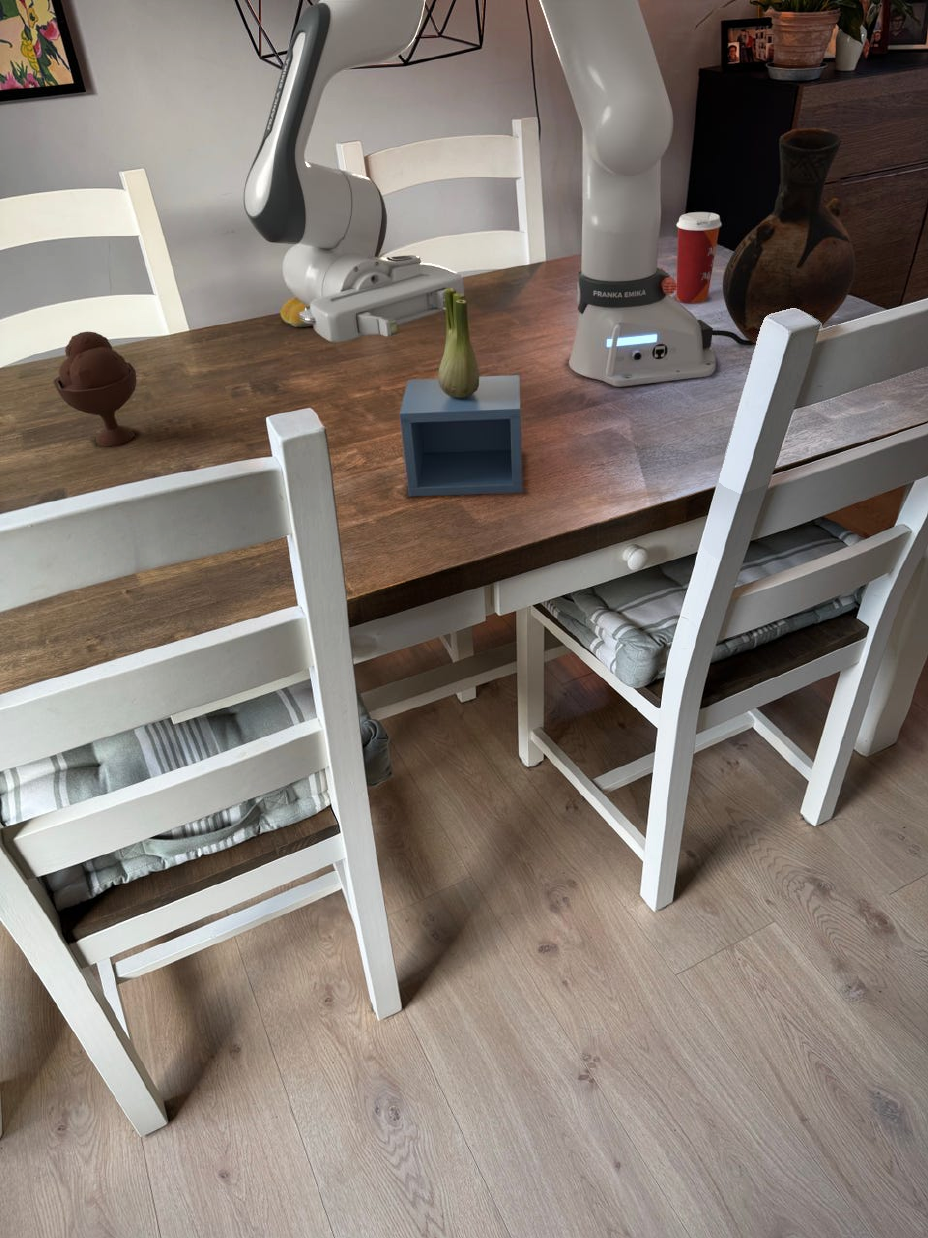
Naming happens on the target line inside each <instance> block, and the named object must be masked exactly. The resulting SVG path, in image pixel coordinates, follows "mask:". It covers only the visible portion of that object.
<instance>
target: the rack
mask: <svg viewBox="0 0 928 1238" xmlns="http://www.w3.org/2000/svg"><path fill="white" fill-rule="evenodd" d="M405 385H406V386H405V390H404V394H403V397H402V402H401V406H400V411H399V421H400V422H399V423H400V429H401V437H402V447H403V448H402V449H403V456H404V464H405V465H404V466H405V472H406V473H405V474H406V481H407V482H406V483H407V489H408V490H407V491H408V497H435V496H462V495H463V496H465V495H466V496H467V495H469V496H470V495H497V494H498V495H500V494H523V462H522V461H523V459H522V457H523V455H522V417H521V416H522V409H521V407H522V406H521V375H520V374H512V375H487V376H479V387H478V389H477V391H476V392H474V393H473V394H471V395H470V396H468V397H465V398H455V397H450V396H449V395H447V394H446V393H445V392H444V391H443V390H442V389H441V387H440V385H439V382H438V378H420V379H419V378H417V379H407V382H406V384H405Z"/></svg>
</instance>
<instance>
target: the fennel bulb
mask: <svg viewBox="0 0 928 1238" xmlns="http://www.w3.org/2000/svg"><path fill="white" fill-rule="evenodd" d="M445 309H446V315H445V327H446V334H445V335H446V336H445V337H446V338H445V342H444V343H445V344H444V350H443V355H442V358H441V361H440V363H439V367H438V371H437V373H438V376H437V379H438V382H439V385H440V387H441V389H442V390H443V391H444V392H445V393H446V394H447V395H449V396H450V397H455V398H465V397H468V396H470V395H471V394H473V393H474V392H476V391H477V389H478V387H479V377H480V368H479V365H478V360H477V357H476V353H475V349H474V347H473V344H472V343H471V340H470V333H469V323H468V322H469V321H468V302H467V300H466V296H465V294H464V295H463V294H456V290H455V289H453V288H447V289H445Z"/></svg>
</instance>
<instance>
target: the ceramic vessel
mask: <svg viewBox="0 0 928 1238" xmlns="http://www.w3.org/2000/svg"><path fill="white" fill-rule="evenodd" d="M778 143H779V162H780V184H779V187H778V194H777V197H776V200H775V204H774V209H773V211H772V213H770V214H769V215H768V216H767V217H766V218H765V219H763V220H762V221H761V222H760V223H759V224H758V225H756V226H755V227H754V228H753V229H752V230H751V231H750V232H749V233H748V234H747V235H746V236H745V237H744V238H743V240H742V241H741V242H740V243H739V244H738V245H737V247H736V248H735V249H734V251H733V253H732V254H731V256H730V258H729V260H728V262H727V264H726V267H725V269H724V272H723V277H722V295H723V300H724V304H725V308H726V310H727V312H728V315H729V316H730V318H731V320H732V322H733V324H734V325H735V326H736V327H737V329H738V330H739V331H740V333H741V334H742V335H743V337H745V338H746V340H750V341H751V342H753V343H755V344H756V341H757V337H758V334H759V331H760V327H761V325H762V323H763V320H764V318H765V317H766V316H767V315H769V314H771V313H775V312H779V311H782V310H786V309H790V308H797V309H800V310H802V311H804V312H806V313H808V314H810V315H812V316H813V317H814V318H816V319H818V320H819V321H820V322H821V323H822V327H823V326H824V325H825V324H826V323H827V322H828V321H829V320H830V319H831V318H832V317H833V316H834V315H835V314H836V312H837V311H838V310H839V309H840V308H841V306H842V305H843V304H844V303H845V300H846V298H847V297H848V295H849V293H850V291H851V289H852V285H853V283H854V279H855V275H856V256H855V250H854V247H853V243H852V240H851V238H850V234H849V233H848V231H847V229H846V228H845V227H844V225H843V222H842V219H841V213H842V201H841V200H840V199H839V198H836V197H835V198H832V200H830V201H829V202H828V203H827V204H826V205H825V206H824V207H823V206H822V200H823V193H824V190H825V185H826V181H827V177H828V175H829V172H830V170H831V167H832V165H833V162H834V160H835V158H836V156H837V154H838V152H839V149H840V146H841V144H842V139H841V137H840V136H839V135H838V134H837V133H835V132H833V131H831V130H829V129H826V128H821V127H808V128H807V127H806V128H805V127H804V128H794V129H791V130H789V131H786V132H785V133H783V134H782V135H781V136H780V137H779V141H778Z"/></svg>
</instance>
